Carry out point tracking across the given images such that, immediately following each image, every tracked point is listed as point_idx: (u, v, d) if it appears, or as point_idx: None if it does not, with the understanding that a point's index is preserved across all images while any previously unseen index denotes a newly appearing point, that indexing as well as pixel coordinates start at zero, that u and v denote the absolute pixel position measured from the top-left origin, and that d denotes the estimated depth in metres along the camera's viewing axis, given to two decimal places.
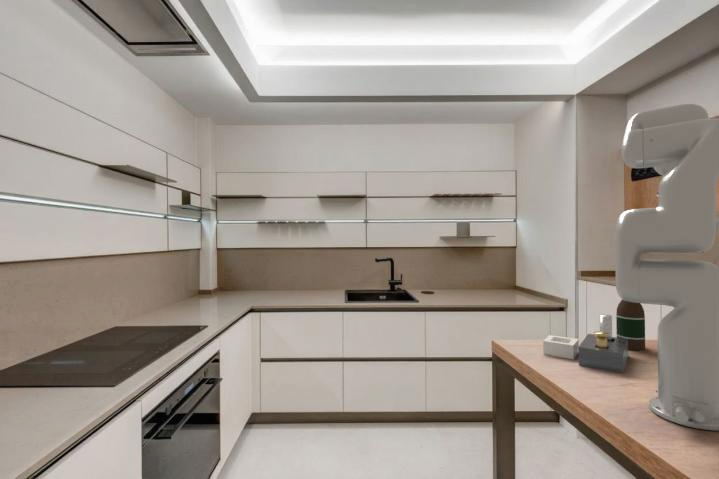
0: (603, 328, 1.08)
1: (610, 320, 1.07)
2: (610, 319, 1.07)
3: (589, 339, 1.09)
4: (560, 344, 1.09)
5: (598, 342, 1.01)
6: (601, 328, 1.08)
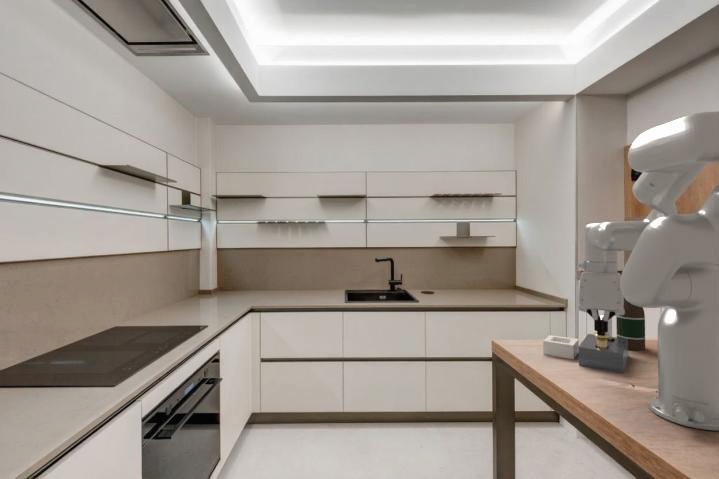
0: None
1: (610, 320, 1.07)
2: (610, 319, 1.07)
3: (589, 339, 1.09)
4: (560, 344, 1.09)
5: (598, 343, 1.01)
6: None
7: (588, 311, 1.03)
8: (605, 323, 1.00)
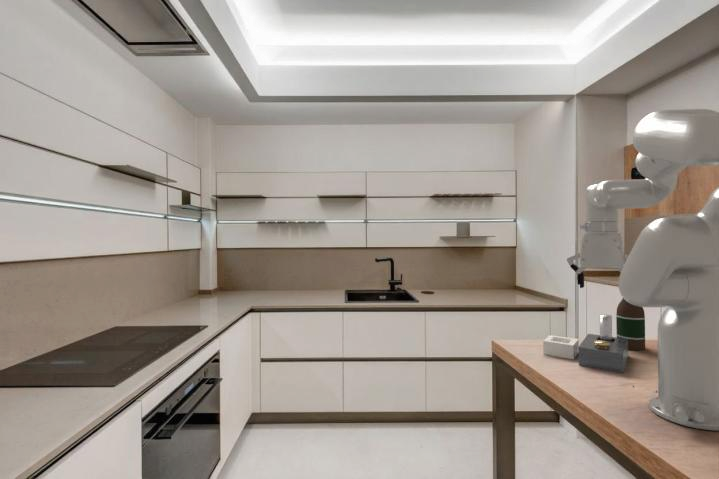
0: (603, 328, 1.08)
1: (610, 320, 1.07)
2: (610, 319, 1.07)
3: (589, 339, 1.09)
4: (560, 344, 1.09)
5: None
6: (601, 328, 1.08)
7: (572, 266, 1.08)
8: None
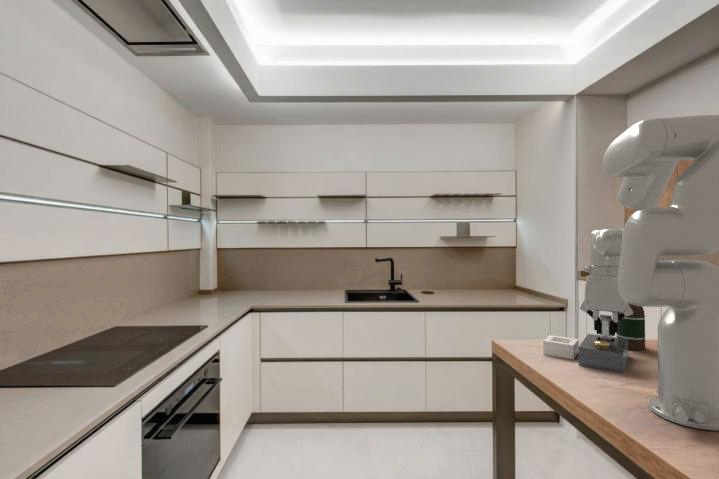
0: (603, 328, 1.08)
1: (610, 320, 1.07)
2: (610, 319, 1.07)
3: (589, 339, 1.09)
4: (560, 344, 1.09)
5: None
6: (601, 328, 1.08)
7: (588, 312, 1.10)
8: (615, 324, 1.06)
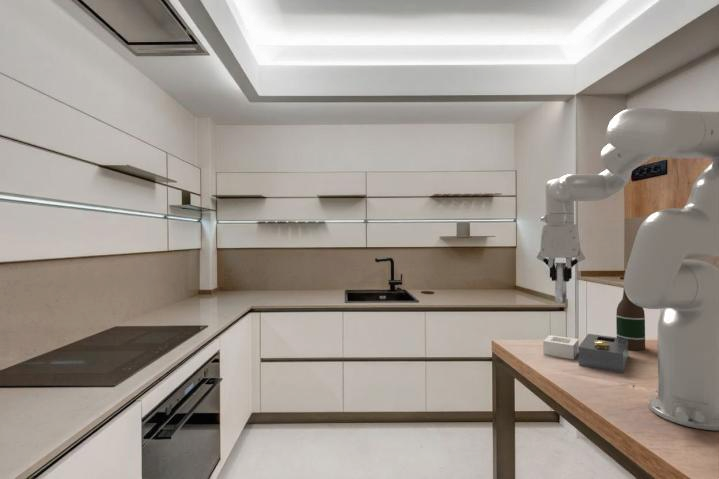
0: (557, 275, 1.11)
1: (564, 266, 1.10)
2: (565, 265, 1.10)
3: (589, 339, 1.09)
4: (560, 344, 1.09)
5: None
6: (556, 275, 1.12)
7: (544, 260, 1.14)
8: (569, 270, 1.10)
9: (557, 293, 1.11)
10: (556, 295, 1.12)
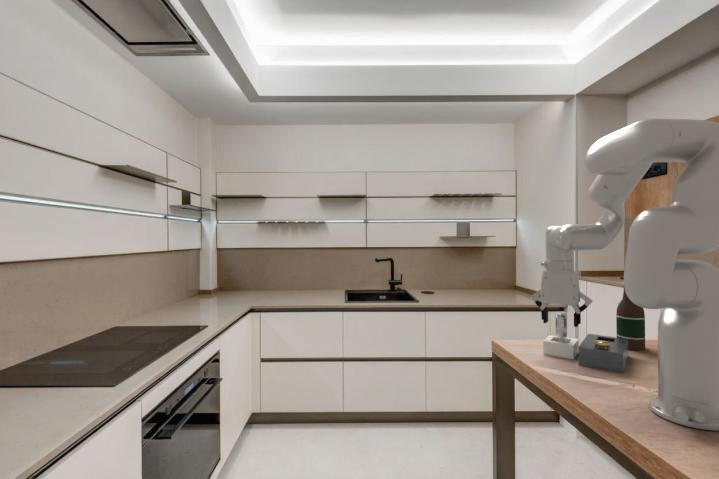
0: (558, 326, 1.11)
1: (565, 318, 1.10)
2: (565, 317, 1.11)
3: (589, 339, 1.09)
4: (560, 344, 1.09)
5: None
6: (556, 326, 1.12)
7: (536, 302, 1.15)
8: (578, 315, 1.08)
9: None
10: None
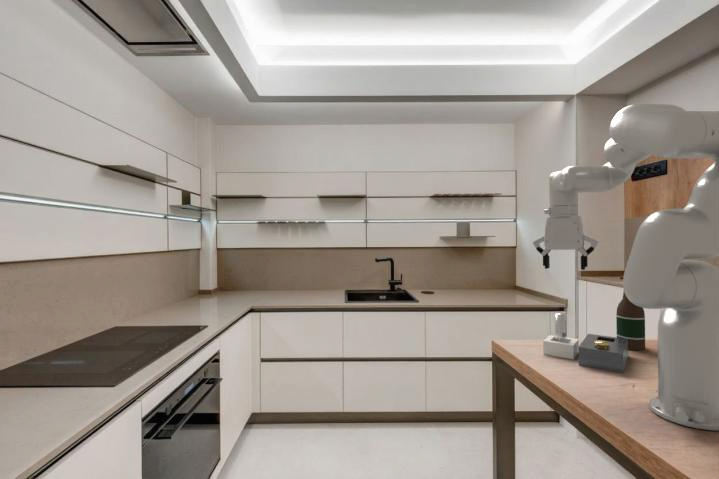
0: (557, 326, 1.11)
1: (564, 318, 1.11)
2: (565, 317, 1.11)
3: (589, 339, 1.09)
4: (560, 344, 1.09)
5: None
6: (556, 326, 1.12)
7: (537, 248, 1.15)
8: (585, 258, 1.07)
9: None
10: None
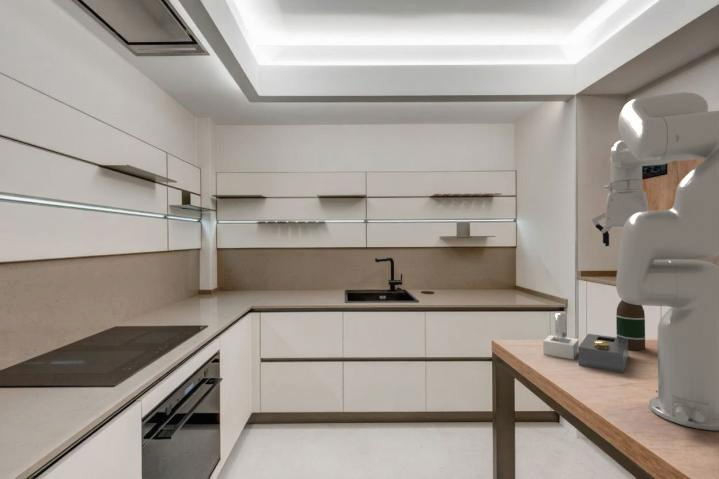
0: (557, 326, 1.11)
1: (564, 318, 1.11)
2: (565, 317, 1.11)
3: (589, 339, 1.09)
4: (560, 344, 1.09)
5: None
6: (556, 326, 1.12)
7: (597, 226, 1.12)
8: None
9: None
10: None
